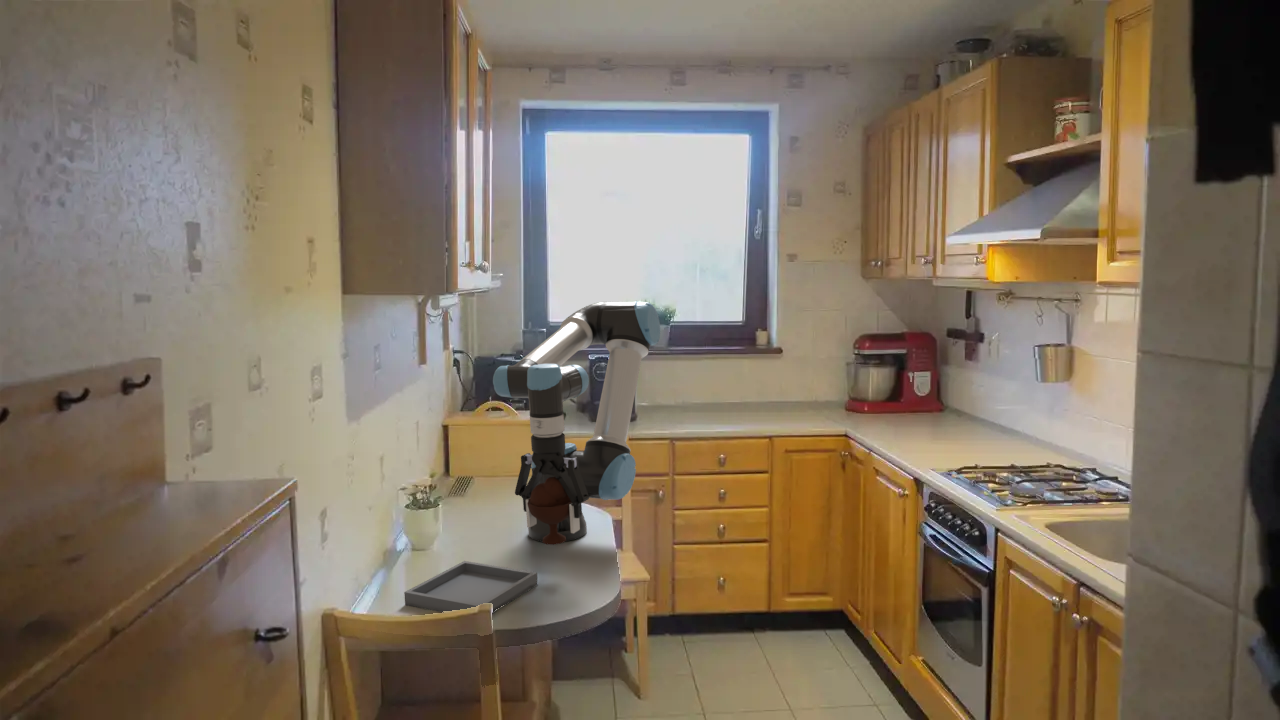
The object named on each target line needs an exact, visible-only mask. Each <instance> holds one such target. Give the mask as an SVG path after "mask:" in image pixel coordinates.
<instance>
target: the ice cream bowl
mask: <svg viewBox="0 0 1280 720" xmlns="http://www.w3.org/2000/svg"><path fill="white" fill-rule="evenodd" d="M571 503H572V502H571V500H570V498H569V497H568V495H567V493H566V492H565V490H564V488H563V487H562V485H561V483H560V482H559V480H558V479H556V477H549V478H548V479H547V480H546V481H545V483H541V484H539V485H537V486H536V487H535V488H534V489H533V491H532V492H531V497H530V499H529V500H528V508H529V511H530V513H531V514H532V515H533V516H534V517H535V518H536V519H538V520H539V521H541V522H543V523H546V524H548V525H549V527H550V533H549V534H548V535H546V536H545V537H543V541H541V543H543V544H546V545H550V546H551V545H553V546H554V545H559V544H563V543H564V542H567V541H566V537H565V536H564V535H562V534H560V533H558V532H557V525H558V523H560V522H562V521H564V520H565V519H566V518H568V517H569V516H570V510H569V505H570V504H571Z"/></svg>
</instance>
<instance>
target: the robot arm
mask: <svg viewBox="0 0 1280 720" xmlns="http://www.w3.org/2000/svg"><path fill="white" fill-rule="evenodd" d="M660 337H661V322H660V318H659V314H658V312H657V309H656V307H655V306H654V305H653V304H652V303H650V302H648V301H638V300H635V301H600V302H594V303H592V304H588V305H586V306H585V307H582V308H580V309H579V310H576V311H574V312H573V313H572V314H570V315H569V316H568V317H566V318H565V319H564V320H563V321H562V322H561V324H560V327H559V328H558V329H557V330H556V331H555V332H554V333H552V334H551V335H550V336H549V337H547V338H545V340H544V341H542V343H540V344H539V345H538V346H536V347H535V348H534V349H532V351H530V352H529V353H528V354H527V355H525V356H524V357H523V358H521V360H519V361H518V362H516V364H514V365H510V364H507V365H500V366H499V367H497V369H496V370H495V371H494V373H493V377H492V385H493V389H494V391H495V393H496V394H497V395H498V396H500V397H502V398H503V397H505V398H511V399H514V398H516V399H517V398H519V399H520V398H522V399H528V406H529V407H528V408H529V426H530V427H529V428H530V433H531V434H532V435H531V436H530V442H531V443H530V444H531V452H532V454H531V453H529V452H527V453H525V454H523V455H521V456H520V464H521V465H520V468H519V469H520V470H519V473H518V478H517V482H516V485H515V490H514V495H516V496H519V497H521V498H522V504H523V505H522V506H523V512H525V514H526V526H527V528H528V529H527V530H528V533H527V534H528V537H529V539H532V540H534V541H538V542H542V541H543V537H545V536H546V535H548V534H549V533H550V527H549V525H548V524H546V523H543V522H541V521H539V520H538V519H536V518H535V517H534V516H533V515H532V514H531V513H530V511H529V508H528V500H529V499H530V497H531V492H532V491H533V489H534V488H535V487H536V486H537V485H539V484H541V483H545V481H546V480H547V479H548V478H549V477H556V479H558V480H559V482H560V483H561V485H562V487H563V488H564V490H565V492H566V493H567V495H568V497H569V498H570V500H571V502H572V503H571V504H570V505H569V510H570V516H569V517H568V518H566V519H565V520H564V521H562V522H560V523H558V525H557V532H558V533H560V534H562V535H564V536H565V537H566V541H565V542H568V541H573V540H576V539H579V538H582V537H584V536H585V535H586V534H587V531H588V529H587V521H586V519H585V517H584V514H583V513H584V512H583V509H582V506H583V505H582V504H583V503H585V502H586V501H587V500H589V499H600V500H603V501H608V500H621V499H623V498H624V497H626V495H628V494H629V492H630V491H631V489H632V487H633V485H634V481H635V477H636V472H637V469H636V465H637V464H636V460H635V457H634V456H633V455H632V454H631V448H630V447H629V445H628V444H627V440H628V434H629V429H630V424H631V418H632V413H633V406H634V401H635V395H636V391H637V385H638V381H639V374H640V368H641V364H642V360H643V359H644V358H645V357H646V356H648V354H649V351H650V347H652V346H656V345H657V344H658V342H659V341H660ZM596 345H605V348H606V350H607V351H608V352H609V354H608V355H609V356H608V360H607V366H606V370H605V376H604V380H603V385H602V391H601V395H600V400H599V405H598V410H597V416H596V421H595V425H594V431H593V436H592V437H591V438H589V439H588V440H586V442H585V446H584V450H578V446H577V445H576V444H575V443H572V442H566V436H565V433H563V432H565V421H564V420H565V417H564V402H566V401H568V400H572V399H576V398H578V397H579V396H580V395H582V394H584V393H585V392H586V391H587V389H588V387H589V383H590V382H589V381H590V379H589V375H588V372H587V370H585V368H584V367H582V366H580V365H579V364H566V365H564V364H565V363H566V362H567V361H568V360H569V359H570V358H571V357H572V356H574V355H575V354H576V353H577V352H578V351H582V350H585V349H587V348H588V347H589V346H596ZM563 365H564V366H563ZM530 472H531V477H530ZM529 477H530V478H529ZM528 480H529V481H528Z"/></svg>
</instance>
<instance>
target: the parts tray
mask: <svg viewBox="0 0 1280 720" xmlns="http://www.w3.org/2000/svg"><path fill="white" fill-rule="evenodd" d="M536 586H538V572H535V571H528V570H524V569H518V568H511V567H504V566H500V565H499V566H498V565H492V564H485V563H480V562H472V561H467V560H463V561H462V562H459V563H458V564H456V565H454V566H452V567H450V568H449V569H446V570H445V571H442V572H440V573H438V574H436V575H434V576H433V577H431V578H429V579H427V580H424V581H423V582H422V583H419V584H417V585H415V586H413V587H412V588H409V589H407V590H406V591H404V603H405V604H404V605H405V606H409V607H413V608H417V609H418V608H419V609H424V610H428V611H433V612H440V613H444V612H443V611H452V610H460V609H467V608H471V607H476V606H478V605H480V604H483V603H492V604H493V612H494V611H495V610H496V609H498V608H500V607H501V606H503V605H505V604H506V605H508V604H509V603H508V602H510V601H511V602H513V601H514V600H516V599H517V597H518V598H520V595H521V596H523V595H524V594H526V593H527V592H529V591H530V590H532V589H534V588H535V587H536ZM531 588H532V589H531ZM528 590H529V591H528ZM526 591H527V592H526ZM523 593H524V594H523ZM515 598H516V599H515ZM513 599H514V600H513ZM512 600H513V601H512ZM511 602H510V603H511ZM507 603H508V604H507ZM506 605H505V606H506ZM503 607H504V606H503ZM500 609H501V608H500ZM495 612H496V611H495ZM495 612H494V613H495Z"/></svg>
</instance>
